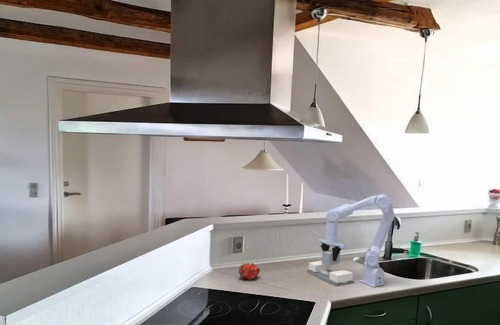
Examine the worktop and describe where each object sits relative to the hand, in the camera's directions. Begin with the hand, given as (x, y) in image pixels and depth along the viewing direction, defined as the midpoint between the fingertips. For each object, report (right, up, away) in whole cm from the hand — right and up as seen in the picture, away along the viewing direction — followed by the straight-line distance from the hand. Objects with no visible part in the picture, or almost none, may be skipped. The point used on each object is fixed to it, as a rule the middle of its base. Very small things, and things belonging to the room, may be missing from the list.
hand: (330, 259), depth 188 cm
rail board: (0, -9, 0) cm, 9 cm away
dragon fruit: (-41, -8, -6) cm, 42 cm away
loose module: (0, -2, 0) cm, 2 cm away
